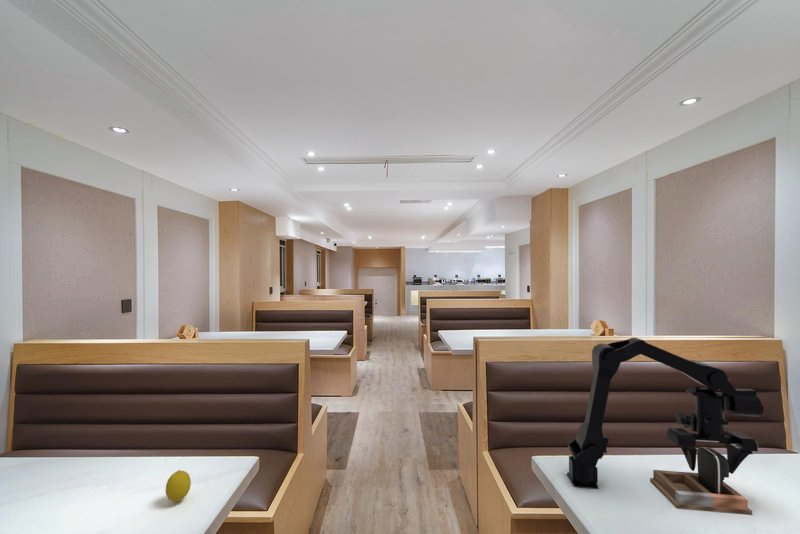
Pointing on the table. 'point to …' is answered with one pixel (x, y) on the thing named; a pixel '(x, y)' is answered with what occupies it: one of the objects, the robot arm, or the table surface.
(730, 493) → the dock
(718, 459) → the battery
